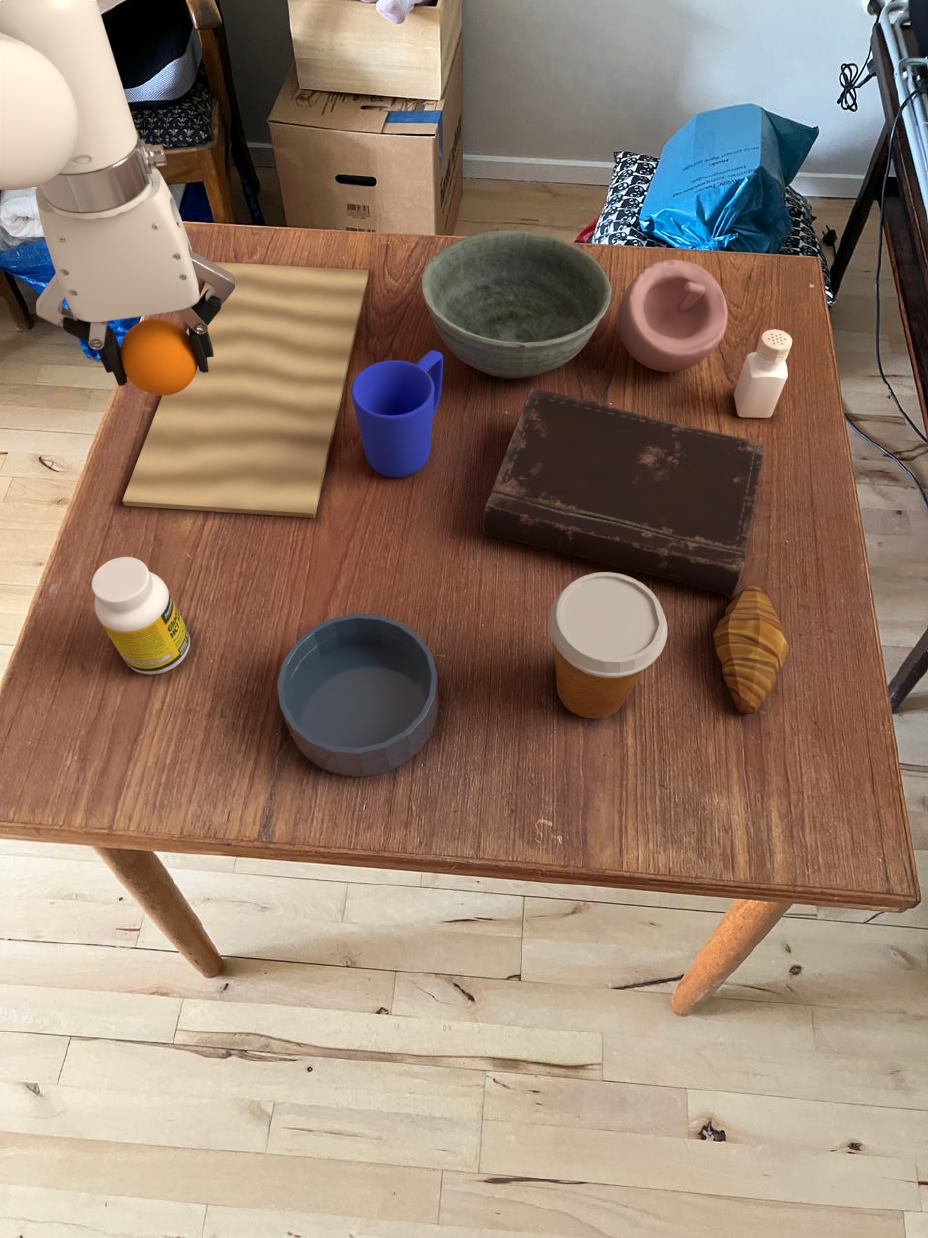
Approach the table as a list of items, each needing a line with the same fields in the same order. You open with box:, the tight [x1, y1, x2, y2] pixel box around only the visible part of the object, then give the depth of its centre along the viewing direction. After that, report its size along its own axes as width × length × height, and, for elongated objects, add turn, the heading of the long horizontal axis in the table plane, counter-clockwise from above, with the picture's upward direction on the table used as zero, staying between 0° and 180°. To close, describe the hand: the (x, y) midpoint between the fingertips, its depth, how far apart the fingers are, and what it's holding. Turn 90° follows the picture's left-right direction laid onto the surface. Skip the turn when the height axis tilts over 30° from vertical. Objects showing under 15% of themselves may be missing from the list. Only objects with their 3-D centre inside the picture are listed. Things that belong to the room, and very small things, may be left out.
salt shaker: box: [733, 328, 793, 419], centre depth 95 cm, size 4×4×10 cm
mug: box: [350, 349, 444, 479], centre depth 92 cm, size 8×12×10 cm
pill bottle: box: [91, 556, 191, 675], centre depth 77 cm, size 6×6×11 cm
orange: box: [120, 318, 198, 397], centre depth 76 cm, size 6×6×6 cm
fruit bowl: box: [276, 613, 439, 778], centre depth 77 cm, size 13×13×5 cm
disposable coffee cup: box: [548, 571, 668, 720], centre depth 75 cm, size 10×10×12 cm
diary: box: [481, 387, 766, 597], centre depth 90 cm, size 19×25×5 cm
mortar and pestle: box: [617, 258, 729, 373], centre depth 99 cm, size 12×12×12 cm
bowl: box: [421, 230, 612, 380], centre depth 100 cm, size 21×21×10 cm
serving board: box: [122, 261, 369, 519], centre depth 101 cm, size 40×20×1 cm, turn 175°
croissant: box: [713, 585, 790, 715], centre depth 80 cm, size 14×7×5 cm, turn 168°
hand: (163, 367), depth 77 cm, fingers closed on orange, 6 cm apart
